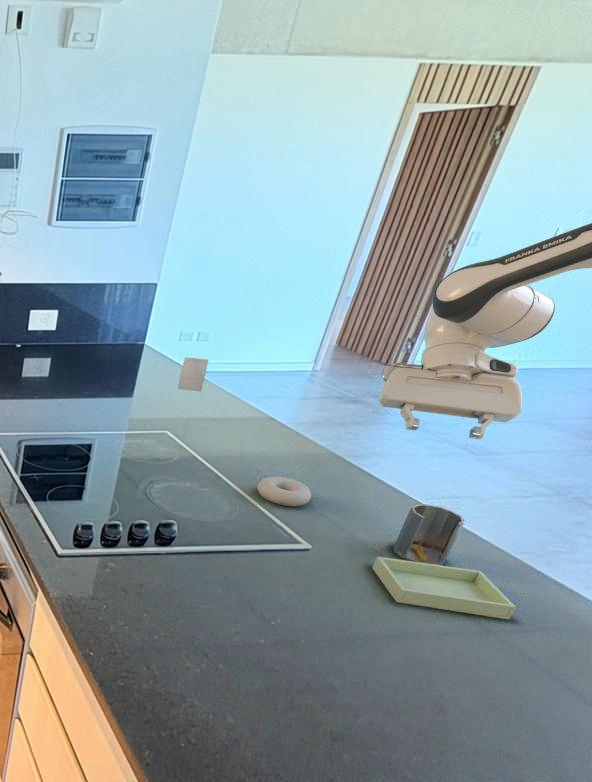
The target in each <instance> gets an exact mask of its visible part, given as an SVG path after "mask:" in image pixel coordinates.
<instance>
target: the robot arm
mask: <svg viewBox="0 0 592 782" xmlns="http://www.w3.org/2000/svg"><path fill="white" fill-rule="evenodd" d="M582 269H592V222H591V223H588V224H585V225H583V226H579V227H577V228H574V229H571V230H569V231H565V232H563V233H560V234H558V235H555V236H552V237H550V238H547V239H545V240H541V241H539V242H537V243H534V244H531V245H528V246H526V247H524V248H521V249H518V250H515V251H513V252H510V253H507V254H505V255H502V256H499V257H496V258H492V259H489V260H484V261H478V262H475V263H471V264H467V265H465V266H463V267H460V268H457V269H456V270H453V271H452V272H450V273H448V275H446V276H445V277H444V278H443V279H442V280H441V281H440V282H439V283H438V284H437V285H436V287H435V289H434V291H433V294H432V306H431V307H430V310H429V312H428V315H427V318H426V322H425V328H424V335H423V339H424V344H425V347H424V349H423V351H422V353H421V360H420V364H416V363H403V362H393V363H391V364H387V365H385V367H384V368H383V369H382V375H381V377H382V381H383V385H382V387H381V390H380V392H379V397H378V402H379V404H380V406H382V407H384V408H391V409H399V410H400V411H399V412H400V415H401V417H402V418H403V420H404V421H405V422H406V423H405V430H410V431H417V430H418V429H419V428H420V422H421V419H420V418H416V417H415V415H414V414H413V411H414V412H422V413H429V414H437V415H446V416H453V417H461V418H468V419H475V420H477V423H478V424H479V426H473V427H472V428H470V429H469V432H468V434H469V435H468V438H469V439H474V440H481V439H482V438H483V437H484V436H485V431H486V428H487V427H488V426H489V425H490V424H491V423H492V422H496V423H497V422H498V423H508V422H510V421H511V420H513V419H515V418H517V416H519V415H520V414H521V413H522V411H523V392H522V385H521V384H520V382H519V380H517V379H516V378H515V377H516V376H517V375H518V373H519V366H518V365H517V364H514V363H511V362H509V361H505V360H503V359H499V358H496V357H494V356H491V355H489V354H486V353H485V351H486V350H487V349H488V348H489V349H490V348H491V349H493V348H499V347H505V346H509V345H515V344H517V343H522V342H524V341H527V340H529V339H532V338H534V337H535V336H537V335H538V334H540V333H542V332H543V331H544V330H545V329H546V328H547V326H549V324H550V322H551V321H552V318H553V316H554V314H555V309H556V305H555V301H554V299H553V298H552V297H550V296H549V295H547V294H545V293H543V292H541V291H539V290H537V289H536V288H533V287H532V286H530V285H531V284H533V283H537V282H539V281H542V280H543V281H544V280H546V279H548V278H551V277H554V276H558V275H560V274H564V273H566V272H570V271H575V270H582Z"/></svg>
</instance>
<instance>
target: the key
mask: <svg viewBox="0 0 592 782" xmlns="http://www.w3.org/2000/svg"><path fill="white" fill-rule="evenodd" d="M410 549H411V550H413V551H415V552H416V554H417V556H418V558H419V559H420V560H424V561H426V559H427V558H426V556H425V554H424V552H425V550H426V549H425V548H424V547H422V546H420V545H416V544H412V546H411V548H410Z"/></svg>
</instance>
